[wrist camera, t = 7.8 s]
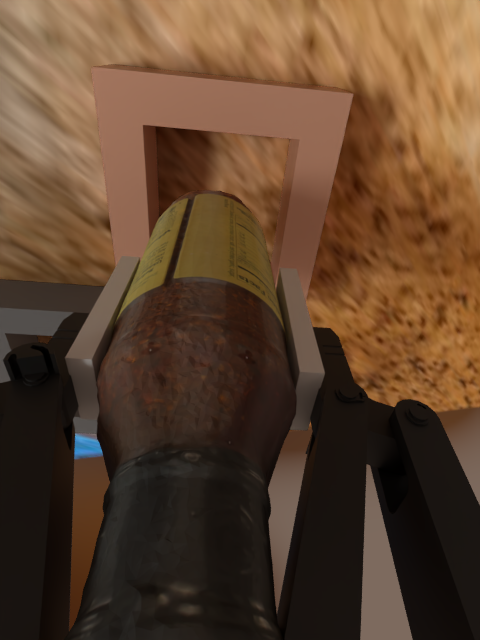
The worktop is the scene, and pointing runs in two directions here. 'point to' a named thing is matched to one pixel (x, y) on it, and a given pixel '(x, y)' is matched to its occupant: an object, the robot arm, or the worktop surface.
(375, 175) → the worktop surface
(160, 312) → the sauce bottle
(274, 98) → the holder
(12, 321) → the holder
